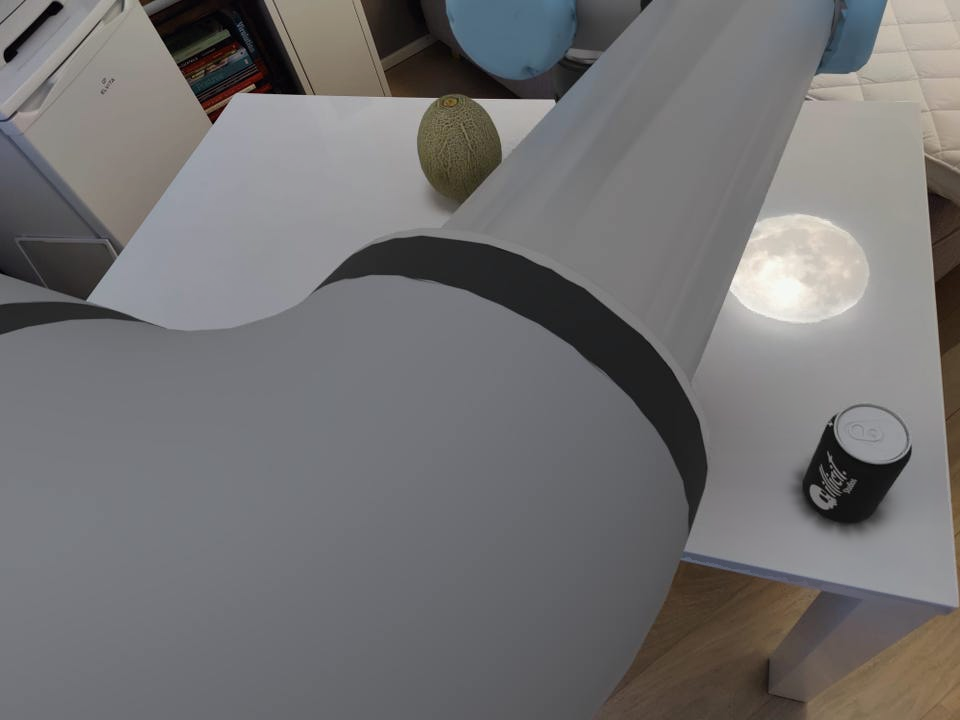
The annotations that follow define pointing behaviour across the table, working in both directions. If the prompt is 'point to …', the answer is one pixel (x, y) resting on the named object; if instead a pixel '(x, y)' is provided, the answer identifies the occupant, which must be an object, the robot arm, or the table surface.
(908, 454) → the beverage can
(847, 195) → the table surface
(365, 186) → the table surface
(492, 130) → the fruit
